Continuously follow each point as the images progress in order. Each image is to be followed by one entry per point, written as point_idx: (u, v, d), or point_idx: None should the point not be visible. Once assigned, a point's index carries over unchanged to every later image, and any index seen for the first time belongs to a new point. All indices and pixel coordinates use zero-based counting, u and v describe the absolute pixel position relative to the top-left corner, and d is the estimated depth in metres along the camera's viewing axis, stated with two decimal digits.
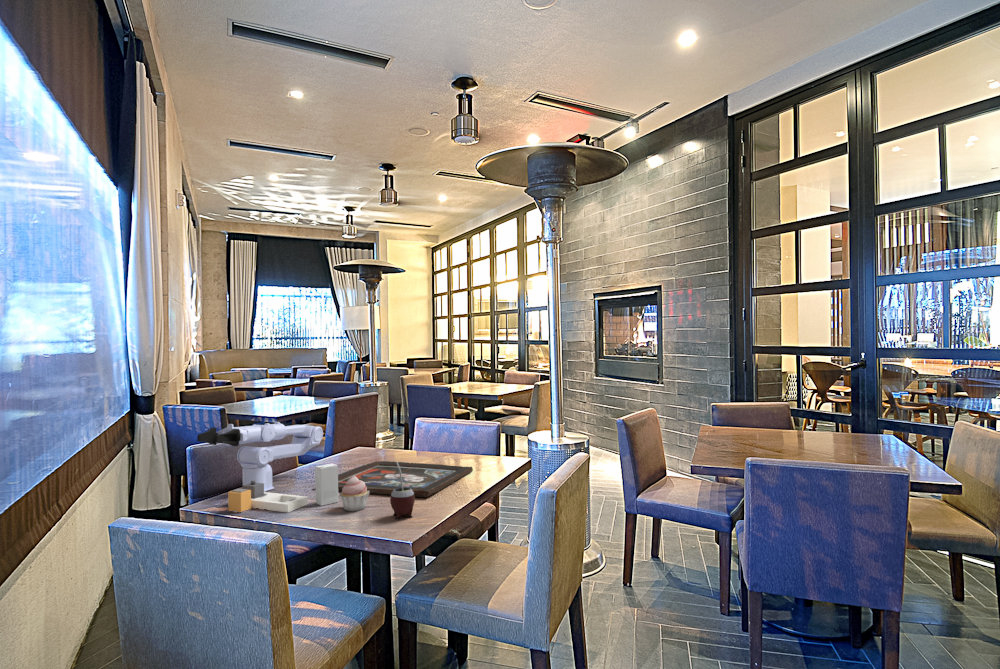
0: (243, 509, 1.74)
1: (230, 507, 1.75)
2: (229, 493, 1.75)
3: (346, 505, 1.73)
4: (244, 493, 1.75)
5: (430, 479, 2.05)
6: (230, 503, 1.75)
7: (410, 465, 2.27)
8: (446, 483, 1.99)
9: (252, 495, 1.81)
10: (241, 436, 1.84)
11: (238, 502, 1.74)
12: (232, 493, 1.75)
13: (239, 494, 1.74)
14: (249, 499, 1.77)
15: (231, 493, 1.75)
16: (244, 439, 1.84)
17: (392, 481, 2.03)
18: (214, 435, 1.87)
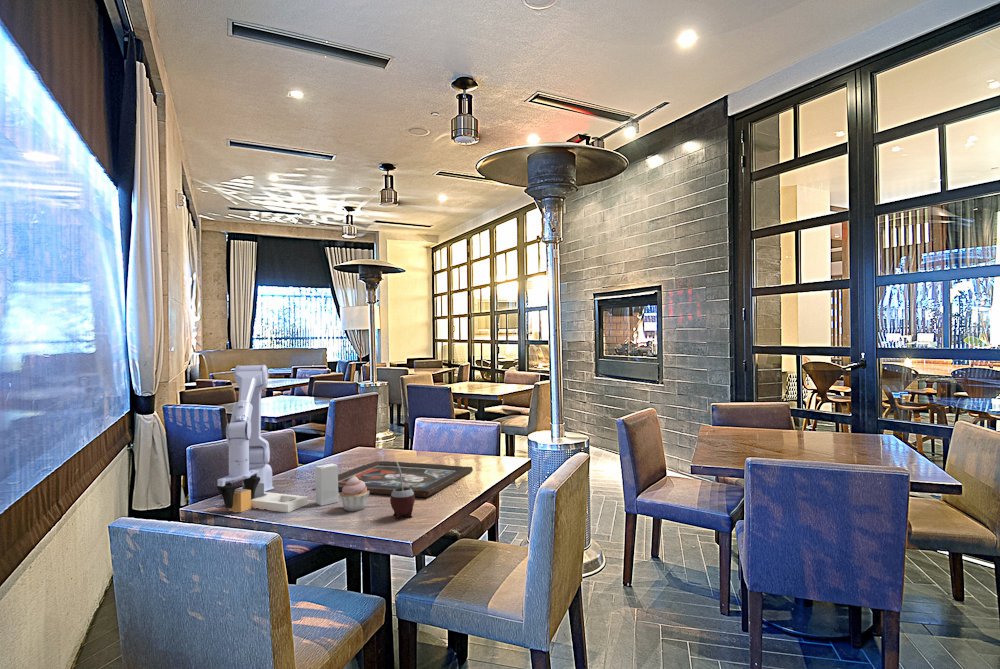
0: (243, 509, 1.74)
1: None
2: None
3: (346, 505, 1.73)
4: (244, 493, 1.75)
5: (430, 479, 2.05)
6: None
7: (410, 465, 2.27)
8: (446, 483, 1.99)
9: None
10: None
11: (238, 502, 1.74)
12: None
13: (239, 494, 1.74)
14: (249, 499, 1.77)
15: None
16: None
17: (392, 481, 2.03)
18: None
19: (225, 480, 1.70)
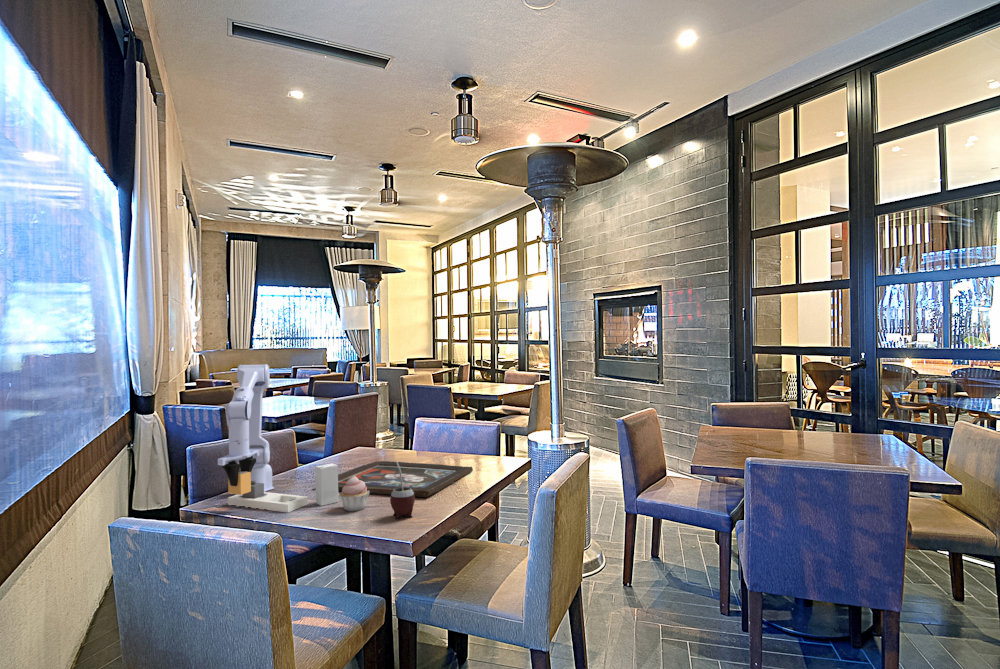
0: (243, 491, 1.74)
1: (230, 489, 1.75)
2: None
3: (346, 505, 1.73)
4: (244, 475, 1.75)
5: (430, 479, 2.05)
6: (230, 485, 1.75)
7: (410, 465, 2.27)
8: (446, 483, 1.99)
9: (252, 495, 1.81)
10: None
11: (237, 484, 1.74)
12: None
13: (239, 476, 1.74)
14: (249, 481, 1.77)
15: None
16: None
17: (392, 481, 2.03)
18: None
19: (225, 459, 1.70)
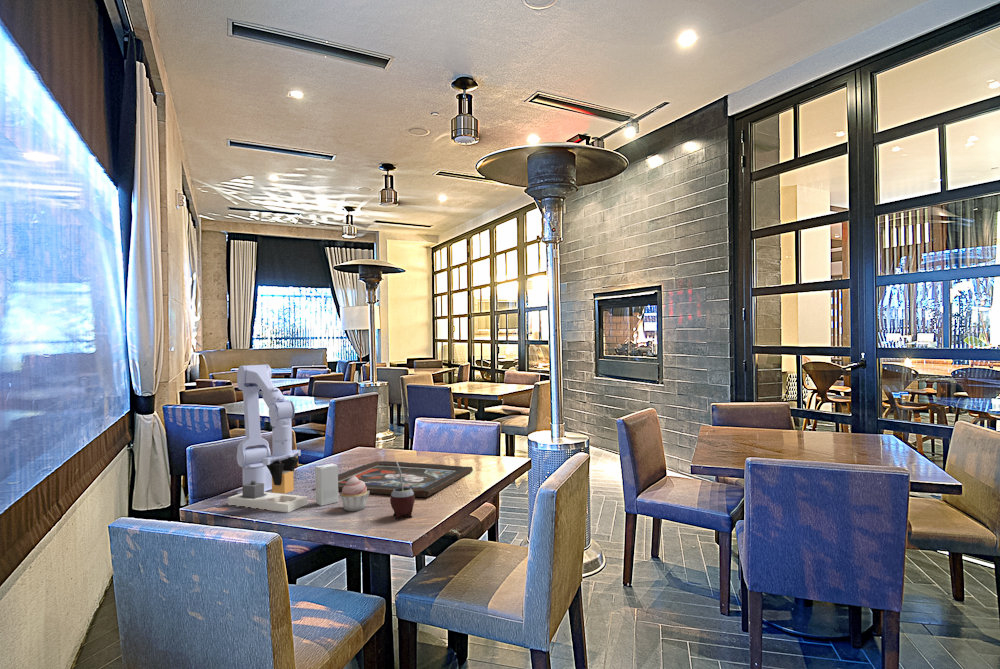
0: (286, 490, 1.78)
1: (273, 488, 1.78)
2: None
3: (346, 505, 1.73)
4: (287, 474, 1.78)
5: (430, 479, 2.05)
6: (273, 484, 1.78)
7: (410, 465, 2.27)
8: (446, 483, 1.99)
9: (252, 495, 1.81)
10: None
11: (281, 483, 1.77)
12: None
13: (283, 475, 1.77)
14: (292, 480, 1.80)
15: None
16: None
17: (392, 481, 2.03)
18: None
19: (270, 459, 1.73)
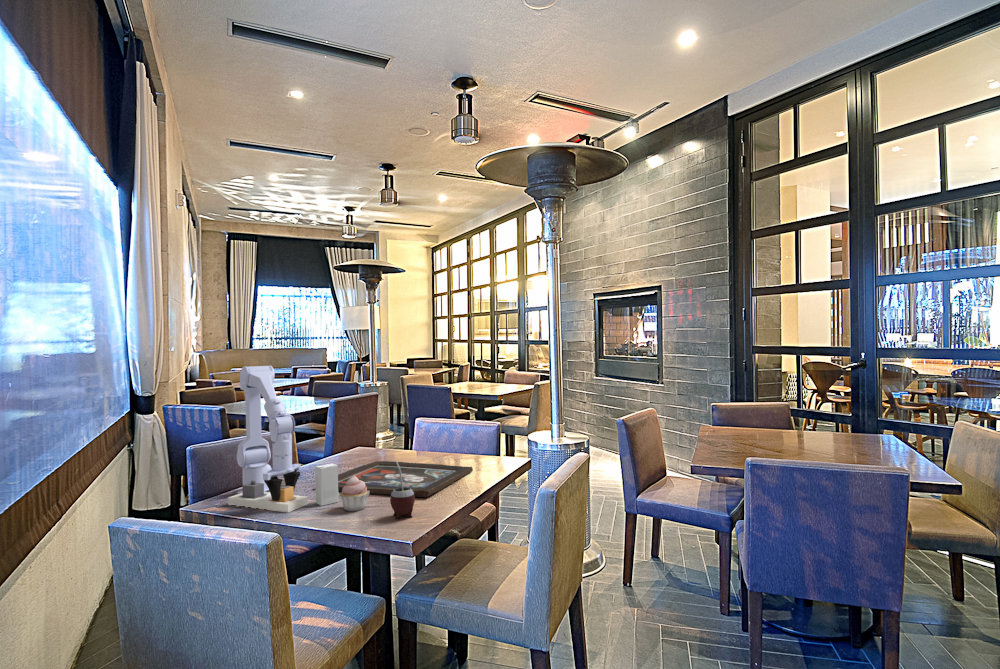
0: None
1: None
2: None
3: (346, 505, 1.73)
4: (287, 489, 1.78)
5: (430, 479, 2.05)
6: None
7: (410, 465, 2.27)
8: (446, 483, 1.99)
9: (252, 495, 1.81)
10: None
11: (281, 499, 1.77)
12: None
13: (283, 490, 1.77)
14: (292, 495, 1.80)
15: None
16: None
17: (392, 481, 2.03)
18: None
19: (270, 474, 1.73)
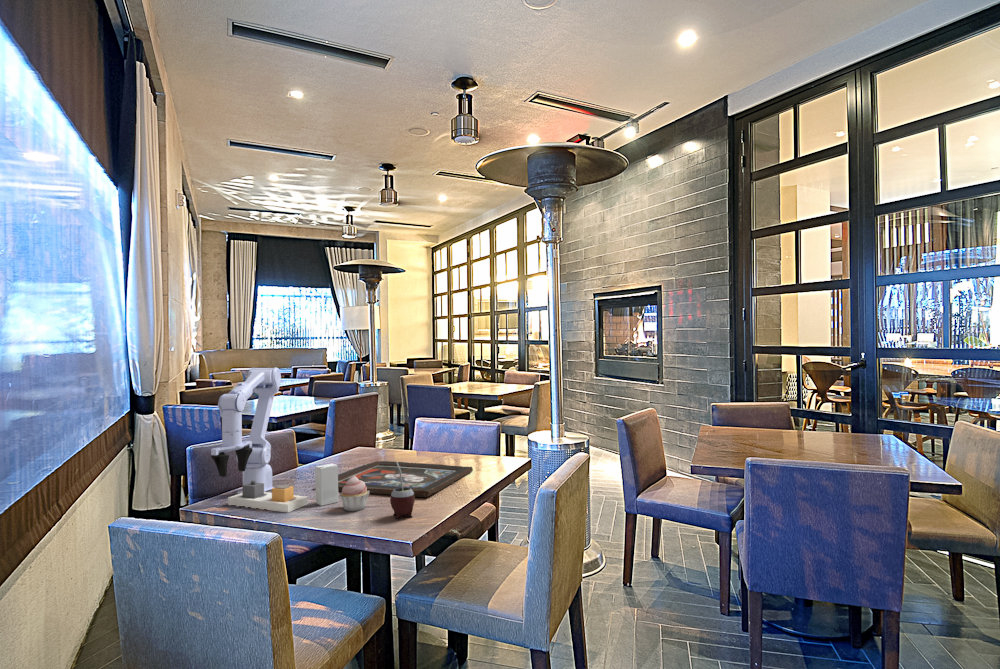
0: None
1: None
2: (272, 490, 1.78)
3: (346, 505, 1.73)
4: (287, 490, 1.78)
5: (430, 479, 2.05)
6: (274, 499, 1.78)
7: (410, 465, 2.27)
8: (446, 483, 1.99)
9: (252, 495, 1.81)
10: (249, 447, 1.89)
11: (281, 499, 1.77)
12: (276, 490, 1.78)
13: (283, 490, 1.77)
14: (292, 495, 1.80)
15: (275, 490, 1.78)
16: None
17: (392, 481, 2.03)
18: None
19: (218, 449, 1.76)
